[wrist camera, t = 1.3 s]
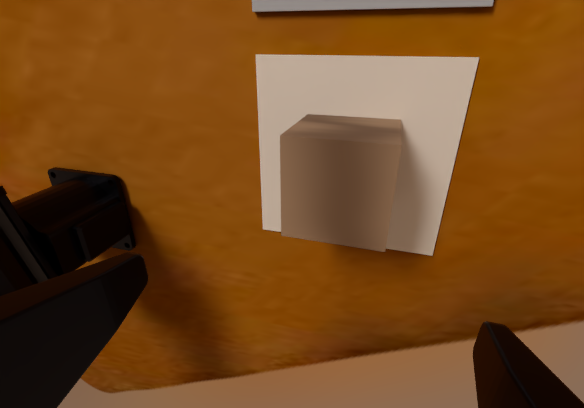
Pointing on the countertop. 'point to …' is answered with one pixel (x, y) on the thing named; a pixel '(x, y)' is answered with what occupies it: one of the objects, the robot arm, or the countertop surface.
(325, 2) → the grey mat
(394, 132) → the walnut block
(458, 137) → the card
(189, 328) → the countertop surface
